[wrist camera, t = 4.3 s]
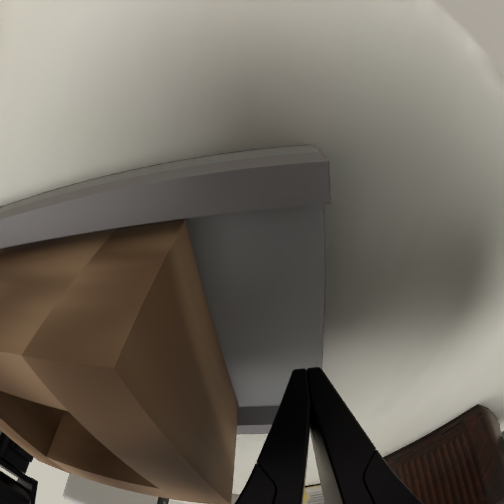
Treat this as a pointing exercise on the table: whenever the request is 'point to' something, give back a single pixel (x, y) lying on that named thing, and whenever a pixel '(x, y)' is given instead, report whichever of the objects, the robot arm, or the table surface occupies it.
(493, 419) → the manual coffee grinder
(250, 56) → the table surface
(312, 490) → the candy box
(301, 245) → the rail board
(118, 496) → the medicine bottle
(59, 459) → the block
